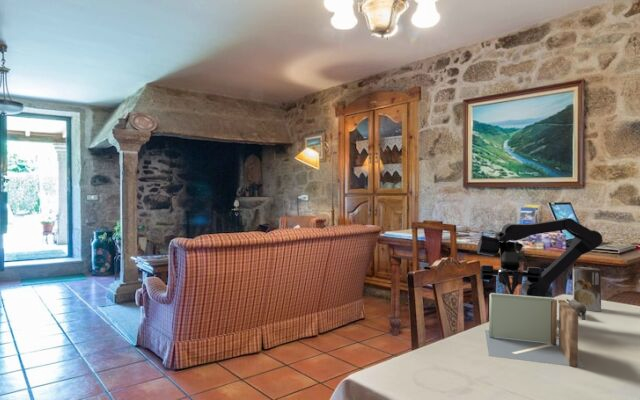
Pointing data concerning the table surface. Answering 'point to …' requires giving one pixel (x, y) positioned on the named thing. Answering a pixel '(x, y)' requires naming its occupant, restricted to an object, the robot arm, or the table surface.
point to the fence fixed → (568, 332)
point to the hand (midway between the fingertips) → (511, 295)
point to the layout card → (526, 350)
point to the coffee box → (587, 287)
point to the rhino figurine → (578, 307)
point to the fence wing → (523, 317)
